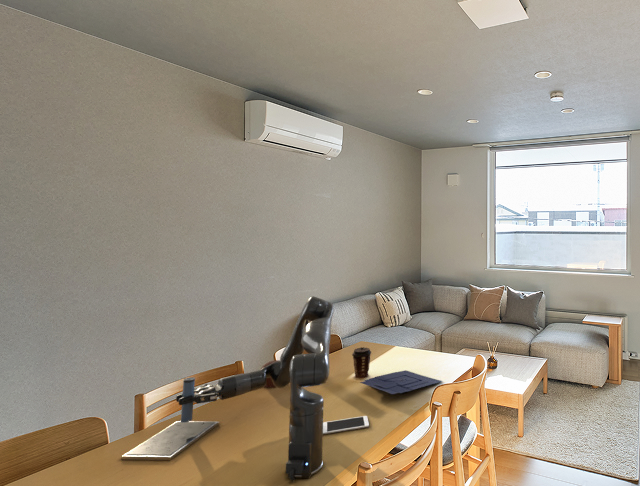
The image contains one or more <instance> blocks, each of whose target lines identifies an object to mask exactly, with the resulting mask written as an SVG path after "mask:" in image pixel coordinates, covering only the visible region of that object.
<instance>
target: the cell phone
mask: <svg viewBox="0 0 640 486" xmlns="http://www.w3.org/2000/svg"><path fill="white" fill-rule="evenodd" d="M369 427H370V422H369V419H368V415H362V416H356V417H348V418H343V419H337V420H330V421H323V435H327V434H333V433H339V432H345V431H346V432H347V431H353V430H358V429H364V428H369Z"/></svg>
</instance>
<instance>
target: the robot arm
mask: <svg viewBox="0 0 640 486" xmlns="http://www.w3.org/2000/svg"><path fill="white" fill-rule="evenodd" d="M334 311H335V306H334V304H333V303H332V302H330V301H328V300H325V299H323V298H320V297H318V296H310V297H309V298H308V299H307V300H306V302H305V303H304V305H303V308H302V309H301V311H300V314H299V315H298V319H297V320H296V323H295V326H294V327H293V329H292V332H291V335H290V337H289V340H288V342H287V343H286V345H285V347H284V349H283V351H282V353H280V357H279V360H280V361H278V362H274V363H272V364H270V365H268V366H266V367H264V368H262V367H261V368H262V369H261V368H260V369H258V370H254V371H249V372H245V373H239V374H235V375H230V376H226V377H221V378H220V379H218V382H217V384H208V383H203V384H201V385H199V386H196V387H195V386H194V395H193V396H192V395H191V396H187V397H183V398H182V396H183V393H179V394H177V395H175V401H176V402H177V403H178V405H179V406H182V405H183V404H187V403H191V402H193V404H196V405H198V404H204V403H205V404H206V403H211V402H217V401H218V399H219V400H221V401H224V400H227V399H231V398H234V397H238V396H242V395H245V394H247V393H250V392H254V391H258V390H262V389H263V388H266V387H265V385H266V379H267V378H269V377H271V379H272V382H273V384H274V385H275V386H276V387H275V388H277V389H282V388H283V389H284V388H285V387H286V386H289V417H288V418H289V420H288V422H289V423H288V449H287V450H288V451H287V453H288V454H287V457H288V458H287V461H286V463H285V474H286V475H287V478H288V479H290V481H291V482H294V481H295V480H296V479H310V478H311V476H313V475H315V474H316V473H318V472H320V471H321V469H322V468H323V464H324V461H323V455H324V454H323V453H324V452H323V450H324V448H323V447H324V446H323V444H324V443H323V442H324V434H323V422H324V407H325V406H324V400H325V399H324V397H323V396H322V395H321V394H320V393H316V392H312V391H309V390H307V389H305V388H309V387H317V386H318V387H319V386H322V385H324V384H326V383H327V381H328V378H329V376H330V364H331V363H330V343H331V334H332V332H331V331H332V320H333V317H334ZM307 321H308V323H307V324H306V322H307ZM304 351H305V352H306V353H304Z"/></svg>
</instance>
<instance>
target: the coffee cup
mask: <svg viewBox="0 0 640 486" xmlns="http://www.w3.org/2000/svg"><path fill="white" fill-rule="evenodd" d="M371 354H372V351H371V349H370V348H369V347H365V346H364V347H356V348H354V349H353V352H352V354H351V355H352V359H353V368H354V369H353V371H354V378H355V380H365V379H367V378H368V377H369V371H370V364H371Z"/></svg>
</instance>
